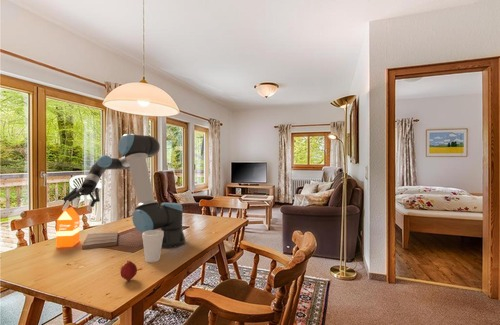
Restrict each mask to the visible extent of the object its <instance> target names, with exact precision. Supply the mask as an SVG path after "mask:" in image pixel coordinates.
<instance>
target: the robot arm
mask: <svg viewBox="0 0 500 325" xmlns="http://www.w3.org/2000/svg"><path fill="white" fill-rule="evenodd" d="M120 137H121V138H120V139H119V142H118V148H117V149H118V153H119V155H122V157H118V158H114V157H113V158H112V157H111V156H109V155H107V154H104V155H101V156H100V157H99V158H98V159H97V160H96V161H95V162H94V163H93V164H92V165H91V167H90V170H89V171H88V174H87V175H86V177H85V178H84V181H83V182H82V184H81V187H80V188H78V187H77V186H76V187H74V188H73V190H72V191H70V192H69V193H68V194H66V195H65V196H64V197H63V198H62V200H63V201H64V203H63V207H62V209H61V211H62V213H63V212H64V210H66V209H68V208H69V206H70V204H71V202H72V201H74V200H75V199H77V198H79V197H81V196H90V198H91V200H90V201H89V203H88V205H87V207H86V211H87V213H90V212H91V210H92V208H93V207H94V206H95V204H96V203H97V202H98V203H99V202H100V201H101V200H100V193H99V192H100V189H99V188H98V187H97V185H98V184H99V182H100V180H101V177H102V176H103V174H104V173H106V171H107V170H110V171H111V170H130V174H131V178H132V181H133V182H132V183H133V187H134V191H135V197H136V203H137V205H135V207H134V208H135V210H134V211H133V213H132V218H131V219H132V224H133V226H134V228H135V229H136V230H137V231H138V232H139V233H143V232H145V231H149V230H162V231H164V237H163V241H162V247H161V248H164V249H165V248H166V249H170V248H178V247H182V246H184V245H185V244H186V237H185V234H184V231H183V214H184V213H183V212H184V211H183V205H182V204H181V203H177V202H161V204H160V203H159V201H157V200H156V199H155V196H154V190H153V186H152V185H153V184H152V181H151V177H150V173H149V169H148V163H147V158H152V157H154V156H156V155H157V154H158V153H159V152H160V149H161V146H160V142H159V141H158V140H157V138H155V137H154V136H151V135H144V134H143V135H142V134H134V133H124V134H123V135H122V136H120ZM93 192H94V195H95V197H94V195H93Z"/></svg>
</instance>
